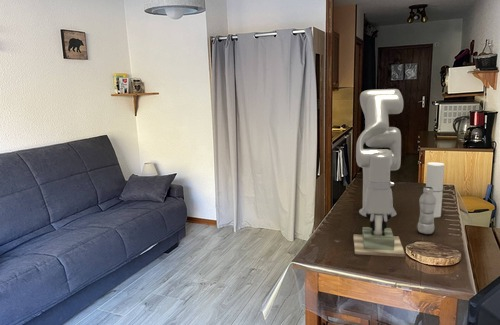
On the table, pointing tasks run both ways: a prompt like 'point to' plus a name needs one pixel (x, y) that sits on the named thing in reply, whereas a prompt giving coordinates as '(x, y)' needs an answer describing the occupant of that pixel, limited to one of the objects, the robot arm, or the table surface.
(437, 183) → the cylindrical container
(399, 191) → the table surface
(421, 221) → the plastic bottle
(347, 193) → the table surface
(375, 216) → the peg
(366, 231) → the socket
